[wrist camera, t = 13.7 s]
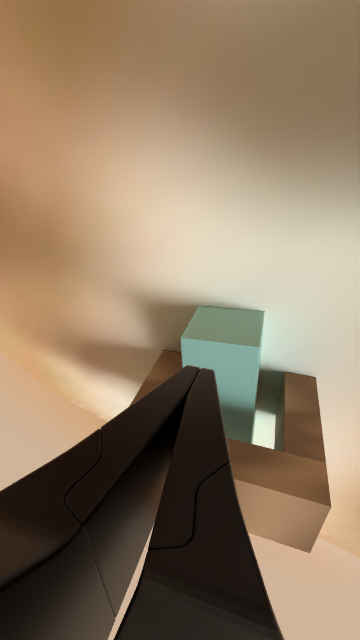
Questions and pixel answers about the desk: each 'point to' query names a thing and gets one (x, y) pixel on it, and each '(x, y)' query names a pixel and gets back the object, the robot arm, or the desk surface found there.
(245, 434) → the green rectangular block
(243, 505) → the brown u-shaped block
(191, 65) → the desk surface
